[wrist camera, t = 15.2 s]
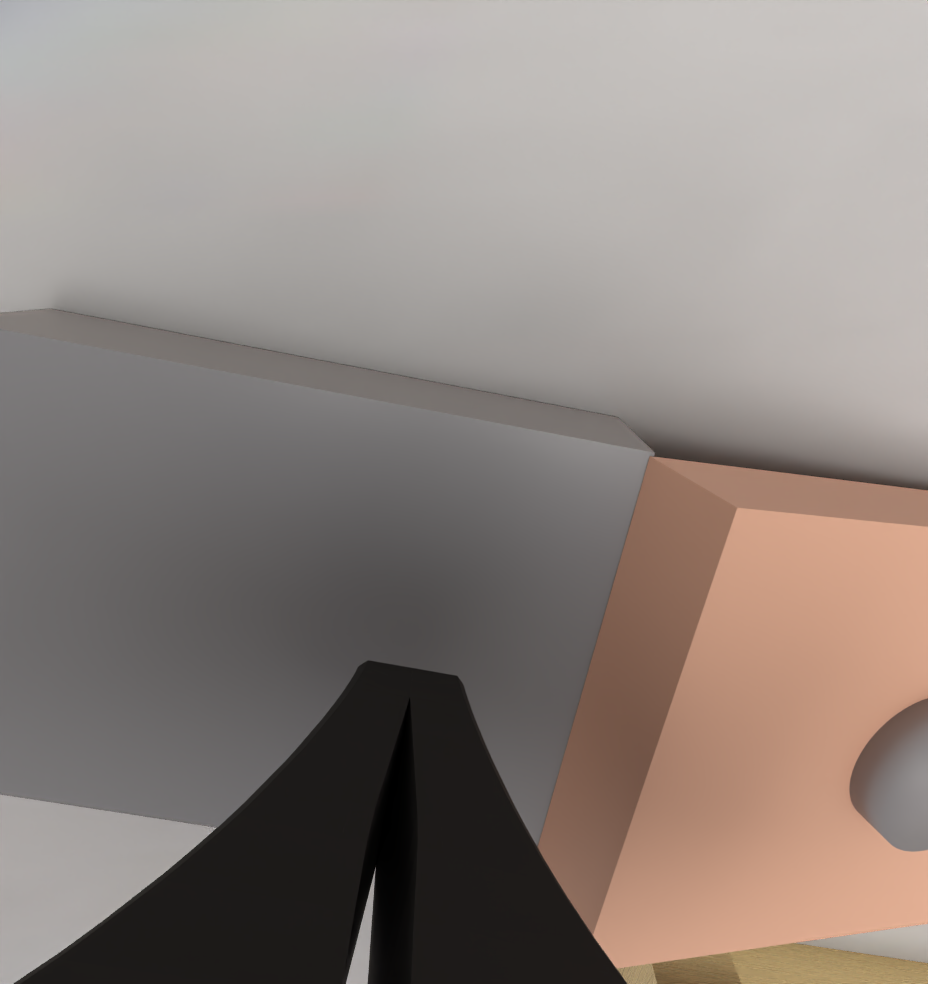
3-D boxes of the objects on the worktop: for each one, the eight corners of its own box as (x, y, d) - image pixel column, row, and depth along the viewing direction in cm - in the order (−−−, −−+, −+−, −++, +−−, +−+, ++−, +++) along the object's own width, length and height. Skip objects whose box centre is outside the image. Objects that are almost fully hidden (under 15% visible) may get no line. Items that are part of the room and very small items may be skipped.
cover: (930, 827, 15) (1053, 939, 12) (533, 861, 12) (597, 1016, 10) (1093, 510, 12) (1283, 575, 10) (649, 456, 10) (772, 528, 7)
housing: (522, 776, 14) (532, 875, 12) (51, 700, 14) (-36, 789, 11) (617, 417, 12) (655, 452, 10) (50, 308, 11) (-61, 318, 9)
